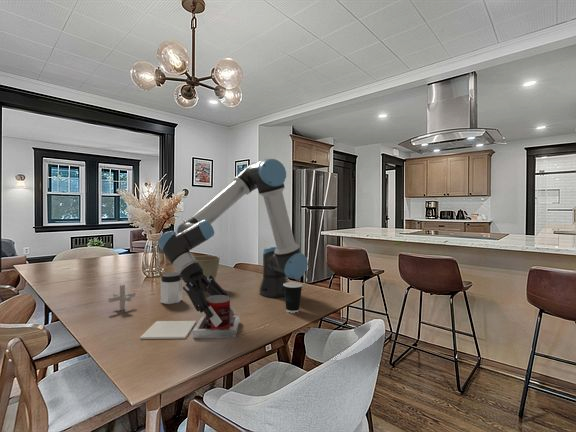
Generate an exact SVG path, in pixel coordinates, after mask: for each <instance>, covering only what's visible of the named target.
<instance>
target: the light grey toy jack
mask: <svg viewBox="0 0 576 432" xmlns="http://www.w3.org/2000/svg"><path fill="white" fill-rule="evenodd" d="M125 292H126V284H119V293H118V292H114V294H113V295H112V297H108V303H115V302H118V301H119V311H124V310H126V308H125V307H126V302H131V301H132V298H134V297H136V292H135V291H134V292H130V293H125Z"/></svg>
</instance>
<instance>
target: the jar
mask: <svg viewBox="0 0 576 432" xmlns="http://www.w3.org/2000/svg"><path fill="white" fill-rule="evenodd" d="M182 292H183V279H182V278H181V277H180V274H178V272H166V273H162V274H161V280H160V303H161V304H165V305H172V304H179V303H180V302H181V301H182V297H183V296H182V295H183V293H182Z"/></svg>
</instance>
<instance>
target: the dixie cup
mask: <svg viewBox="0 0 576 432" xmlns="http://www.w3.org/2000/svg"><path fill="white" fill-rule="evenodd" d="M283 285H284V292H285V296H284V300H285V301H284V302H285V310H286V313H289V312H290V313H289V314H296V313H295V312H297V313H298V312H299V310H300V305H301V296H302V288H303V285H304V284H303V283H301V282H295V281H289V282H288V283H284V284H283Z"/></svg>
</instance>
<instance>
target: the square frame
mask: <svg viewBox="0 0 576 432" xmlns="http://www.w3.org/2000/svg"><path fill="white" fill-rule="evenodd" d="M240 318H241V316H240V315H234V316H233V317H232V318H231V319H230V325H231V324H232V328H229V329H206V328H204V327H205V326H206V315H202V316H201V317H200V319H199V320H198V322H196V323H197V324H195V325H194V327H193V329H192V338H193V339H229V338H230V339H235V338H236V336H237V333H238V330H239V325H240V320H241V319H240Z"/></svg>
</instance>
